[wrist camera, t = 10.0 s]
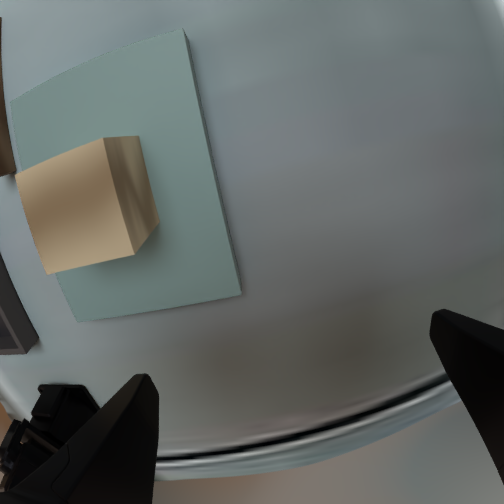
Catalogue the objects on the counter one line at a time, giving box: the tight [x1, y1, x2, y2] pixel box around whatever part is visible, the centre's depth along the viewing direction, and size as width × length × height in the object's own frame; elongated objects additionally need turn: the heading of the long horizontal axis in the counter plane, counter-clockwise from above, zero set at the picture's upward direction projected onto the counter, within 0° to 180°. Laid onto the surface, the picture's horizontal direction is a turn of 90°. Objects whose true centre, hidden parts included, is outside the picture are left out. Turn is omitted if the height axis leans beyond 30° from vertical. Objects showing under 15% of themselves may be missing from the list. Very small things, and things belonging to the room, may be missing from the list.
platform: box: [10, 29, 242, 322], centre depth 17 cm, size 16×12×2 cm
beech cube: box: [15, 136, 160, 274], centre depth 14 cm, size 5×5×5 cm
